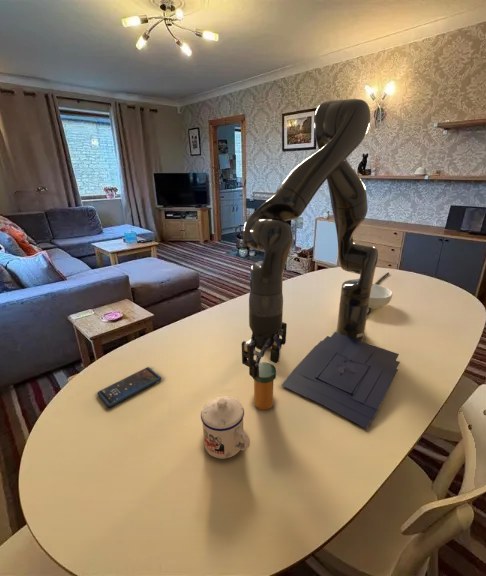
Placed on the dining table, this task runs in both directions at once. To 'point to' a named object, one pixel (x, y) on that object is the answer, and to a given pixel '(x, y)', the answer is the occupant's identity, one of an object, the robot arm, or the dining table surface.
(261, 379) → the lid
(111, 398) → the smartphone
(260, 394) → the jar
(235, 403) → the teacup with lid
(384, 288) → the cereal bowl
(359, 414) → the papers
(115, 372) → the dining table surface
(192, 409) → the dining table surface
